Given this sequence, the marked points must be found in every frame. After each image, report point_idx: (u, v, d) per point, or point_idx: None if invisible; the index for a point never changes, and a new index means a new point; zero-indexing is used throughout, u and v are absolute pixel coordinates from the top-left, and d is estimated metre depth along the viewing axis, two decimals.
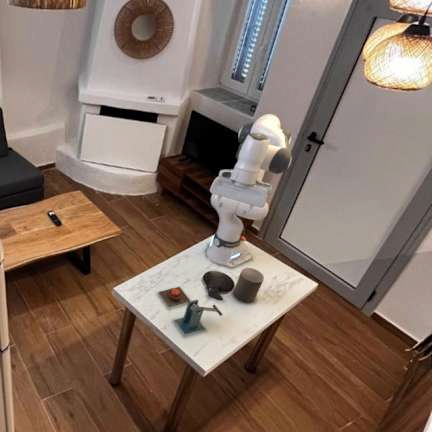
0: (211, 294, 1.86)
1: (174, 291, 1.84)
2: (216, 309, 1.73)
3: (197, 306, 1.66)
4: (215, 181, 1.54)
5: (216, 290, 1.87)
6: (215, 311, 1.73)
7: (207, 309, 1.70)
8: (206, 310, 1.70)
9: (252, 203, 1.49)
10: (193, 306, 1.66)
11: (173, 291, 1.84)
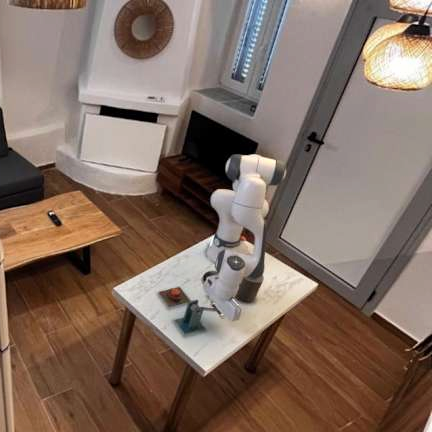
0: None
1: (174, 291, 1.84)
2: (216, 309, 1.73)
3: (197, 306, 1.66)
4: (205, 282, 1.75)
5: None
6: (215, 311, 1.73)
7: (207, 309, 1.70)
8: (206, 310, 1.70)
9: (225, 314, 1.66)
10: (193, 306, 1.66)
11: (173, 291, 1.84)
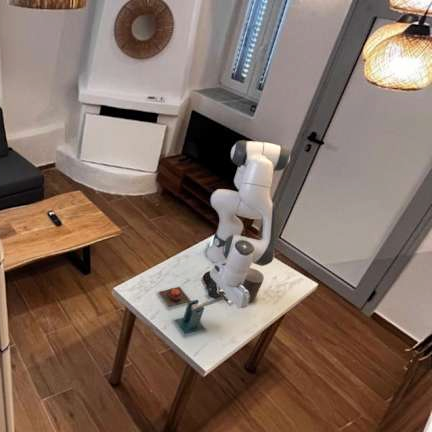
0: (211, 294, 1.86)
1: (174, 291, 1.84)
2: (222, 298, 1.69)
3: (196, 306, 1.66)
4: (212, 269, 1.70)
5: (216, 290, 1.87)
6: None
7: (210, 303, 1.68)
8: (210, 304, 1.68)
9: (233, 301, 1.62)
10: (192, 307, 1.67)
11: (173, 291, 1.84)
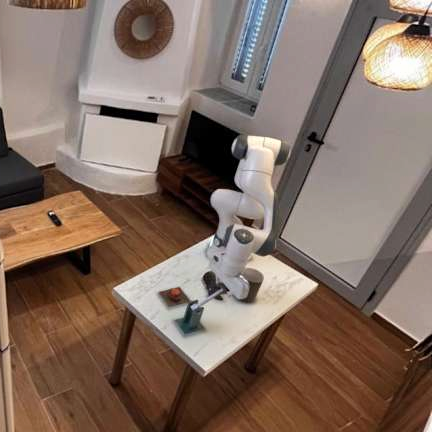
0: (211, 294, 1.86)
1: (174, 291, 1.84)
2: (221, 290, 1.65)
3: (195, 307, 1.66)
4: (211, 259, 1.66)
5: (216, 290, 1.87)
6: (221, 292, 1.65)
7: (209, 299, 1.66)
8: (209, 300, 1.66)
9: (232, 292, 1.57)
10: None
11: (173, 291, 1.84)
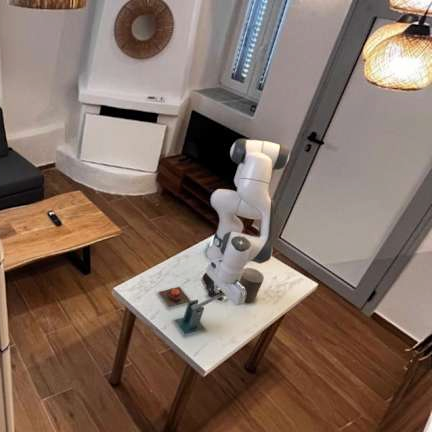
0: (211, 294, 1.86)
1: (174, 291, 1.84)
2: (222, 293, 1.67)
3: (195, 306, 1.66)
4: (208, 266, 1.68)
5: None
6: None
7: (210, 301, 1.67)
8: None
9: (229, 298, 1.59)
10: (192, 308, 1.67)
11: (173, 291, 1.84)
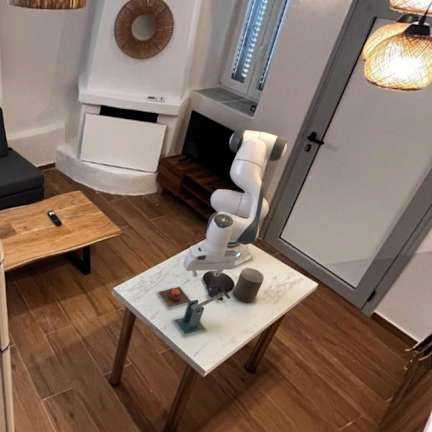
0: (211, 294, 1.86)
1: (174, 291, 1.84)
2: (222, 293, 1.67)
3: (195, 306, 1.66)
4: (191, 263, 1.60)
5: (216, 290, 1.87)
6: None
7: (210, 301, 1.67)
8: None
9: (223, 268, 1.64)
10: (192, 308, 1.67)
11: (173, 291, 1.84)
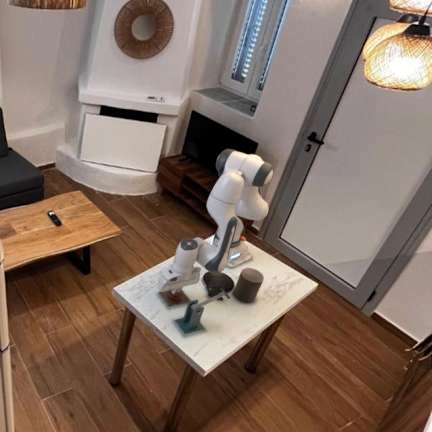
0: (211, 294, 1.86)
1: None
2: (222, 293, 1.67)
3: (195, 306, 1.66)
4: (164, 285, 1.75)
5: (216, 290, 1.87)
6: None
7: (210, 301, 1.67)
8: None
9: (191, 284, 1.81)
10: (192, 308, 1.67)
11: None
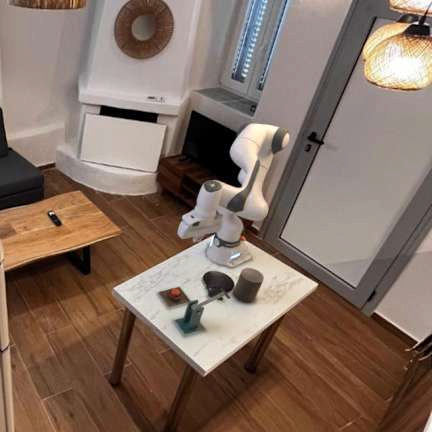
0: (211, 294, 1.86)
1: (174, 291, 1.84)
2: (222, 293, 1.67)
3: (195, 306, 1.66)
4: (186, 231, 1.69)
5: (216, 290, 1.87)
6: None
7: (210, 301, 1.67)
8: None
9: (213, 231, 1.75)
10: (192, 308, 1.67)
11: (173, 291, 1.84)
